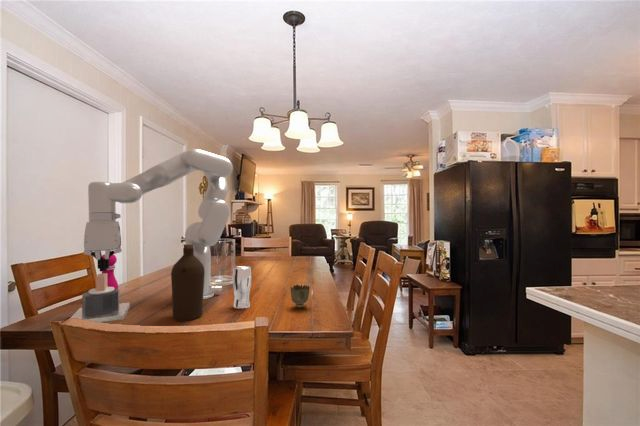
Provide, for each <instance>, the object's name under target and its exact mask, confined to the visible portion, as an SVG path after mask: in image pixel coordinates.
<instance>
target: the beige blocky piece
mask: <svg viewBox="0 0 640 426" xmlns="http://www.w3.org/2000/svg"><path fill="white" fill-rule="evenodd" d="M107 276H108V273H104V274H102V273H99V274H97V275H96V276H95V288H91V289H88V292H89V295H103V294H108V293H112V292H114V287H107Z"/></svg>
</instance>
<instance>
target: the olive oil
mask: <svg viewBox="0 0 640 426" xmlns="http://www.w3.org/2000/svg"><path fill="white" fill-rule="evenodd" d="M182 250H183V251H182V254H183V255H181V257H180V258H179V259H178V260H177V261H176V262H175V264H173V266H172V270H171V272H170V273H171V274H170V275H171V276H170V278H171V279H170V280H171V295H172V296H171V297H172V298H171V300H172V319H173V320H174V321H179V322H185V321H187V322H188V321H192V320H196V319H199V318H201V317H202V316H203V307H204V306H203V305H204V299H203V291H204V275H205V270H204V266H203V264H202V263H201V262H200V261H199V260H198V259H197V258H196V257H195V256H194V248H193V244H186V243H184V244H183V248H182Z"/></svg>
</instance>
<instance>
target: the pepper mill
mask: <svg viewBox="0 0 640 426" xmlns="http://www.w3.org/2000/svg"><path fill="white" fill-rule="evenodd" d="M102 257H103V259H104V257H105V253H104V254H102ZM117 261H118V259H117V256H116V255H115V254H113V255H112V256H111V257H110V258H109V268H107V270H106V271H101V274H104V273H108V276H107V287H114V289H118V290H119V284H118V281H117V279H116V277H115V269H116V263H117Z"/></svg>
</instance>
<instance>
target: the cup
mask: <svg viewBox="0 0 640 426" xmlns="http://www.w3.org/2000/svg"><path fill="white" fill-rule="evenodd" d="M289 287H290V288H289V290H290V297H291V301H292V302H293V303H294V307H295V308H296V307H299V308H298V309H301V308H300V307H303V308H305V307H306V306H305V304H307V302H308V300H309V295H310V288H311V286H309V285H307V284H303V285H302V284H300V285H299V284H296V285H295V284H294V285H293V286H289Z"/></svg>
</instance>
